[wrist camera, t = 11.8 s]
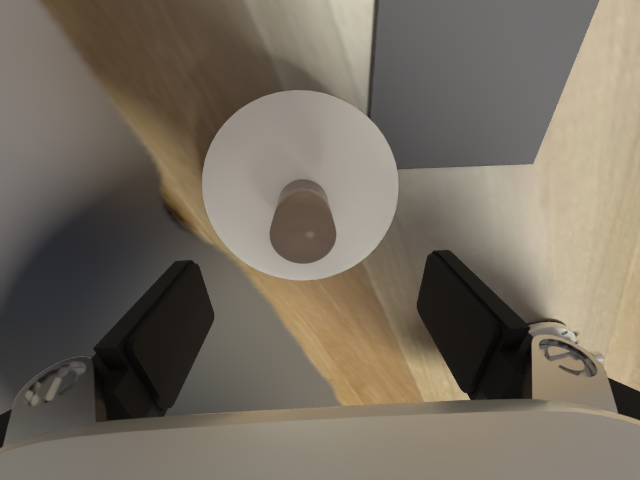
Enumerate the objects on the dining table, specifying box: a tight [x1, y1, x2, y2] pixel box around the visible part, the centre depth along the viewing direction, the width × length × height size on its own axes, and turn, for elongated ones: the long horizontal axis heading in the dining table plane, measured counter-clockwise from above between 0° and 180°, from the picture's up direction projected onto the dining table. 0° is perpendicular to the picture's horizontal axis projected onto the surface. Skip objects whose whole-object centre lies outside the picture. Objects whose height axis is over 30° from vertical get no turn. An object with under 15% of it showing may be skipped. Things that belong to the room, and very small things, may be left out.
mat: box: [369, 0, 599, 169], centre depth 18 cm, size 16×16×1 cm
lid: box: [202, 90, 399, 280], centre depth 15 cm, size 14×14×6 cm
